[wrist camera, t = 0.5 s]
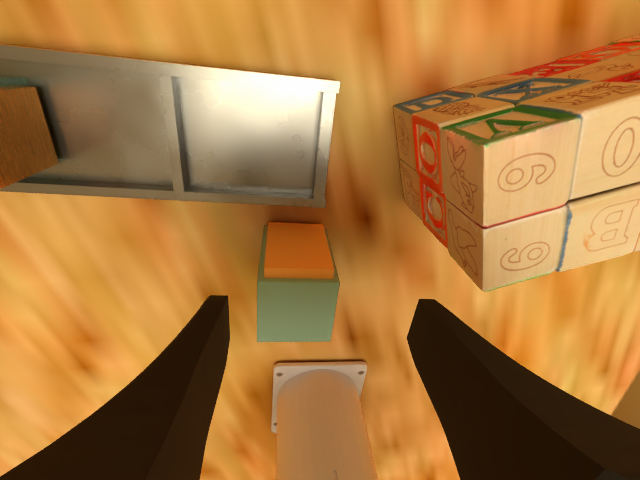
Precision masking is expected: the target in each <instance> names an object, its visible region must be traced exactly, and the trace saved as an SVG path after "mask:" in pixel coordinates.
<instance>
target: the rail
mask: <svg viewBox="0 0 640 480" xmlns="http://www.w3.org/2000/svg"><path fill="white" fill-rule="evenodd" d="M339 87H340V81H336V80H330V79H321V78H312V77H303V76H294V75H285V74H275V73H266V72H257V71H248V70H239V69H230V68H220V67H211V66H202V65H193V64H184V63H175V62H165V61H156V60H147V59H138V58H129V57H120V56H110V55H101V54H92V53H83V52H74V51H65V50H55V49H46V48H37V47H28V46H19V45H10V44H0V191H7V192H26V193H45V194H65V195H84V196H104V197H123V198H142V199H162V200H181V201H201V202H220V203H239V204H259V205H278V206H298V207H317V208H325V207H326V197H325V188H326V179H327V170H328V161H329V152H330V143H331V134H332V125H333V117H334V108H335V99H336V93H339Z"/></svg>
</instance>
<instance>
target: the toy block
mask: <svg viewBox="0 0 640 480" xmlns="http://www.w3.org/2000/svg"><path fill="white" fill-rule="evenodd" d="M339 285H340V282H339V278H338V274H337V270H336V266H335V263H334V259H333V255H332V251H331V247H330V243H329V240H328V236H327V232H326V228H324V226H323V224H303V223H281V222H268V226H264V229H263V238H262V246H261V254H260V263H259V271H258V279H257V342H318V341H331V335H332V329H333V323H334V316H335V310H336V304H337V297H338V291H339Z"/></svg>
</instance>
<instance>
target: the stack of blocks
mask: <svg viewBox="0 0 640 480" xmlns="http://www.w3.org/2000/svg"><path fill="white" fill-rule="evenodd" d="M393 111H394V118H395V127H396V135H397V143H398V152H399V157H400V159H399V163H400V172H401V180H402V187H403V194H404V199H405V202H406V204H407V205H408V206H409V207H410V209H411V210H412V211H413V212H414V213H415V214H416V215H417V216H418V217H419V218H420V219H421V220H422V221H423V223H424V225H425V226H426V227H427V228H428V229H429V230H430V231H431V232H432V233H433V234H434V236H435V237H436V238H437V239H438V240H439V241H440V242H441V243H442V244H443V245H444V246H445V247H446V248H447V249H448V251H449V254H450V256H451V257H452V258H453V259H454V260H455V261H456V262H457V263H458V264H459V266H460V267H461V268H462V269H463V270H464V271H465V272H466V274H467V275H468V276H469V277H470V278H471V279H472V280H473V282H474V283H475V284H476V285H477V286H478V287H479V288H480V289H481V290H482V291H491V290H494V289H497V288H500V287H504V286H508V285H511V284H515V283H518V282H522V281H525V280H529V279H533V278H537V277H540V276H544V275H548V274H550V273H552V272H553V271H558V272H563V271H567V270H571V269H574V268H578V267H582V266H586V265H589V264H593V263H597V262H600V261H604V260H608V259H611V258H615V257H619V256H623V255H626V254H629V253H630V252H632V251H640V34H638V35H635V36H631V37H628V38H624V39H621V40H617V41H614V42H611V43H610V44H609V45H608V46H605V47H600V48H597V49H593V50H590V51H587V52H583V53H579V54H576V55H572V56H569V57H565V58H561V59H558V60H556V61H555V62H553V63H548V64H544V65H541V66H537V67H533V68H530V69H526V70H523V71H520V72H516V73H513V74H509V75H497V76H493V77H490V78H486V79H483V80H479V81H475V82H472V83H468V84H465V85H461V86H458V87H454V88H451V89H448V90H447V91H443V92H439V93H436V94H432V95H428V96H425V97H421V98H418V99H414V100H411V101H408V102H404V103H400V104H397V105H395V106H393Z"/></svg>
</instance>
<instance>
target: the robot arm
mask: <svg viewBox="0 0 640 480" xmlns="http://www.w3.org/2000/svg"><path fill="white" fill-rule="evenodd" d="M229 340H230V330H229V306H228V296H217V295H210V296H209V297H208V298H207V299H206V300H205V302H204V303H203V305H202V306H201V307H200V309H199V310H198V311H197V313H196V314H195V315H194V316H193V318H192V319H191V320H190V321H189V323H188V324H187V325H186V326H185V327H184V328H183V330H182V331H181V332H180V333H179V334H178V335H177V337H176V338H175V339H174V340H173V341H172V342H171V343H170V344H169V345H168V346H167V347H166V348H165V350H164V351H163V352H162V353H161V354H160V355H159V356H158V357H157V358H156V359H155V360H154V361H153V362H152V363H151V364H150V365H149V366H148V367H147V368H146V369H145V370H144V371H143V372H142V373H140V374H139V375H138V376H137V377H136V378H135V379H134V380H133V381H132V382H131V383H129V384H128V385H127V386H126V387H125V388H124V389H122V390H121V391H120V392H119V393H118V394H116V395H115V396H114V397H113V398H112V399H110V400H109V401H108V402H107V403H106V404H104V405H103V406H102V407H101V408H99V409H98V410H97V411H95V412H94V413H93V414H92V415H90V416H89V417H88V418H86V419H85V420H83V421H82V422H81V423H79V424H78V425H77V426H75V427H74V428H72V429H71V430H70V431H68V432H67V433H66V434H64V435H63V436H61V437H60V438H59V439H57V440H56V441H54V442H53V443H52V444H50V445H49V446H47V447H46V448H44V449H43V450H41V451H40V452H38V453H37V454H35V455H33V456H32V457H30V458H29V459H27V460H26V461H24V462H23V463H21V464H19V465H18V466H16V467H15V468H13V469H12V470H10V471H8V472H7V473H5V474H4V475H2V476H1V477H0V480H200V474H201V468H202V462H203V456H204V451H205V445H206V440H207V436H208V431H209V427H210V423H211V419H212V416H213V412H214V408H215V404H216V401H217V397H218V393H219V389H220V386H221V382H222V378H223V374H224V370H225V366H226V361H227V354H228V347H229ZM407 340H408V344H409V347H410V351H411V354H412V357H413V360H414V363H415V366H416V368H417V370H418V373H419V375H420V377H421V379H422V382H423V384H424V386H425V388H426V391H427V393H428V395H429V397H430V399H431V402H432V404H433V406H434V408H435V410H436V413H437V415H438V417H439V419H440V422H441V424H442V427H443V429H444V432H445V434H446V437H447V440H448V443H449V446H450V449H451V452H452V455H453V458H454V461H455V464H456V467H457V470H458V473H459V477H460V480H640V429H638V428H636V427H634V426H632V425H629V424H627V423H625V422H623V421H621V420H619V419H617V418H615V417H613V416H611V415H609V414H606V413H604V412H602V411H600V410H598V409H596V408H594V407H592V406H590V405H589V404H587V403H585V402H583V401H581V400H579V399H577V398H575V397H574V396H572V395H570V394H568V393H566V392H565V391H563V390H561V389H559V388H557V387H556V386H554V385H552V384H551V383H549V382H547V381H545V380H544V379H542V378H541V377H539V376H537V375H536V374H534V373H533V372H531V371H530V370H528V369H526V368H525V367H523V366H522V365H520V364H519V363H517V362H516V361H514V360H513V359H511V358H510V357H509V356H507V355H506V354H504V353H503V352H502V351H500V350H499V349H497V348H496V347H495V346H493V345H492V344H491V343H489V342H488V341H487V340H485V339H484V338H483V337H481V336H480V335H479V334H478V333H476V332H475V331H474V330H472V329H471V328H470V327H469V326H467V325H466V324H465V323H464V322H462V321H461V320H460V319H459V318H458V317H456V316H455V315H454V314H453V313H451V312H450V311H449V310H448V309H446V308H445V307H444V306H442V305H441V304H440V303H438V302H437V301H436V300H434V299H419V301H418V304H417V307H416V311H415V314H414V317H413V320H412V323H411V326H410V329H409V333H408V336H407ZM279 372H280V373H279ZM366 372H367V364H366V362H362V361H357V362H299V363H277V364H275V365H274V374H273V398H272V422H271V431H272V432H273V433H277V438H276V480H378V478H377V474H376V469H375V465H374V461H373V456H372V452H371V447H370V443H369V439H368V434H367V430H366V426H365V421H364V417H363V413H362V408H361V404H360V396H361V392H362V388H363V384H364V380H365V376H366Z"/></svg>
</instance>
